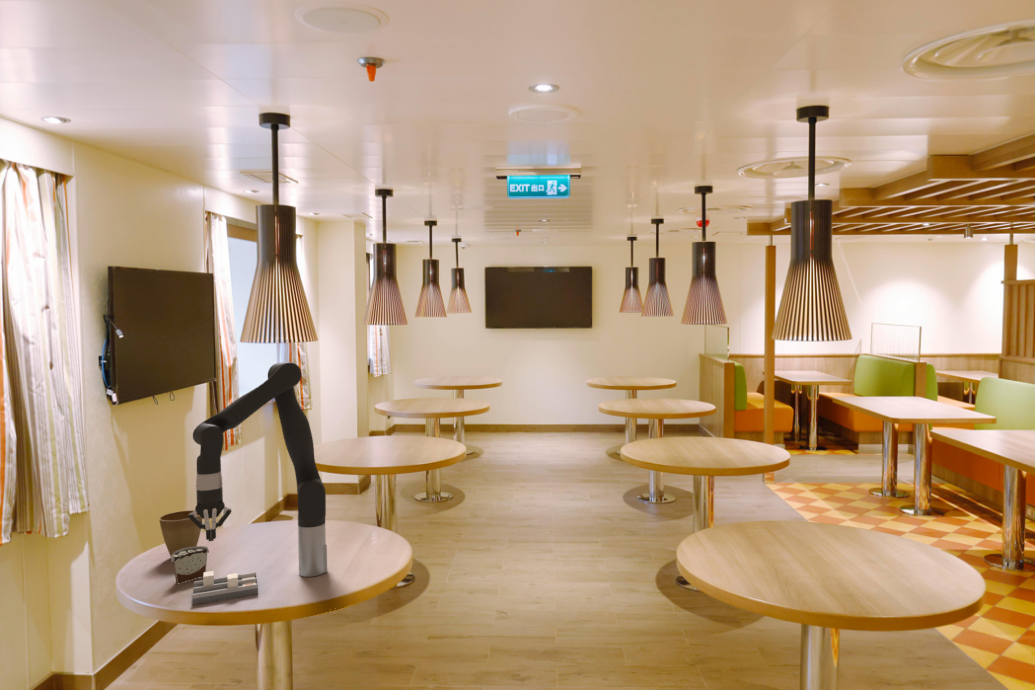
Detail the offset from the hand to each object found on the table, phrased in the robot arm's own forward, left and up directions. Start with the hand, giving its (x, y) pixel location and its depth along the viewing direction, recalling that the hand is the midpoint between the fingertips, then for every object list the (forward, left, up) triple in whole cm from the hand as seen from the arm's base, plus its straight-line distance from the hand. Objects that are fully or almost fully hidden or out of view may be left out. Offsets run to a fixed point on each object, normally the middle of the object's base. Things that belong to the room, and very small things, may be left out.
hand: (211, 540), depth 205 cm
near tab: (-6, 0, -16) cm, 18 cm away
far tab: (+1, -6, -17) cm, 18 cm away
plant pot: (+11, -49, -19) cm, 54 cm away
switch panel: (-4, -3, -19) cm, 19 cm away
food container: (+8, -23, -19) cm, 31 cm away
